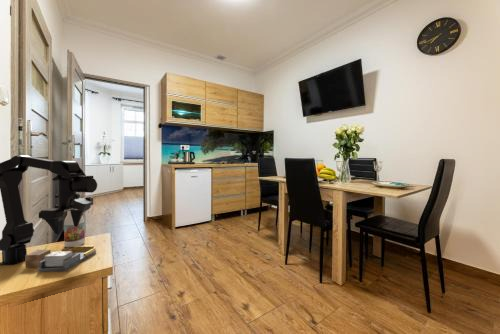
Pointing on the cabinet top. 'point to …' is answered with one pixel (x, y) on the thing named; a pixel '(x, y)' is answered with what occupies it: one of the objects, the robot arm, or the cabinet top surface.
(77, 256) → the grey tray
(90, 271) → the cabinet top surface
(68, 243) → the milk bottle
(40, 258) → the housing
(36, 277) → the cabinet top surface
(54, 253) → the light grey block
